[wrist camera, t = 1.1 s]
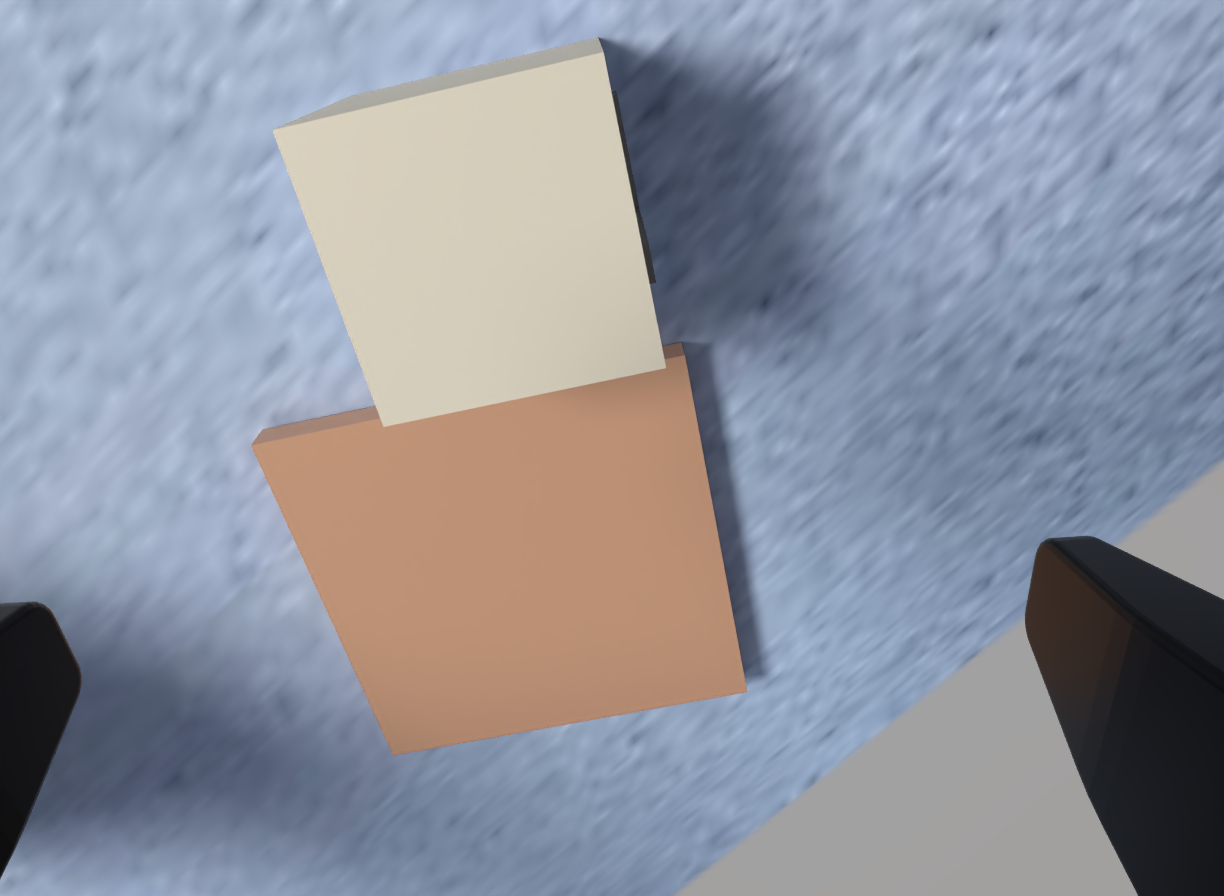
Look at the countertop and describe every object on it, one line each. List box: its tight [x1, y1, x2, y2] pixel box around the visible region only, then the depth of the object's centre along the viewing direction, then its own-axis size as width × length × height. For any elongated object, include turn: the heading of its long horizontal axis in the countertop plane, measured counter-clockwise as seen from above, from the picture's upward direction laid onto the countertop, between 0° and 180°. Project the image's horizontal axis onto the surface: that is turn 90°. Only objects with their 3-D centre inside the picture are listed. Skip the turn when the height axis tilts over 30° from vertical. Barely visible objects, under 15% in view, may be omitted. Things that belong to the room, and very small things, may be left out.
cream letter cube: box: [273, 38, 666, 427], centre depth 16 cm, size 5×5×5 cm
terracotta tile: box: [251, 342, 747, 755], centre depth 22 cm, size 10×10×1 cm
